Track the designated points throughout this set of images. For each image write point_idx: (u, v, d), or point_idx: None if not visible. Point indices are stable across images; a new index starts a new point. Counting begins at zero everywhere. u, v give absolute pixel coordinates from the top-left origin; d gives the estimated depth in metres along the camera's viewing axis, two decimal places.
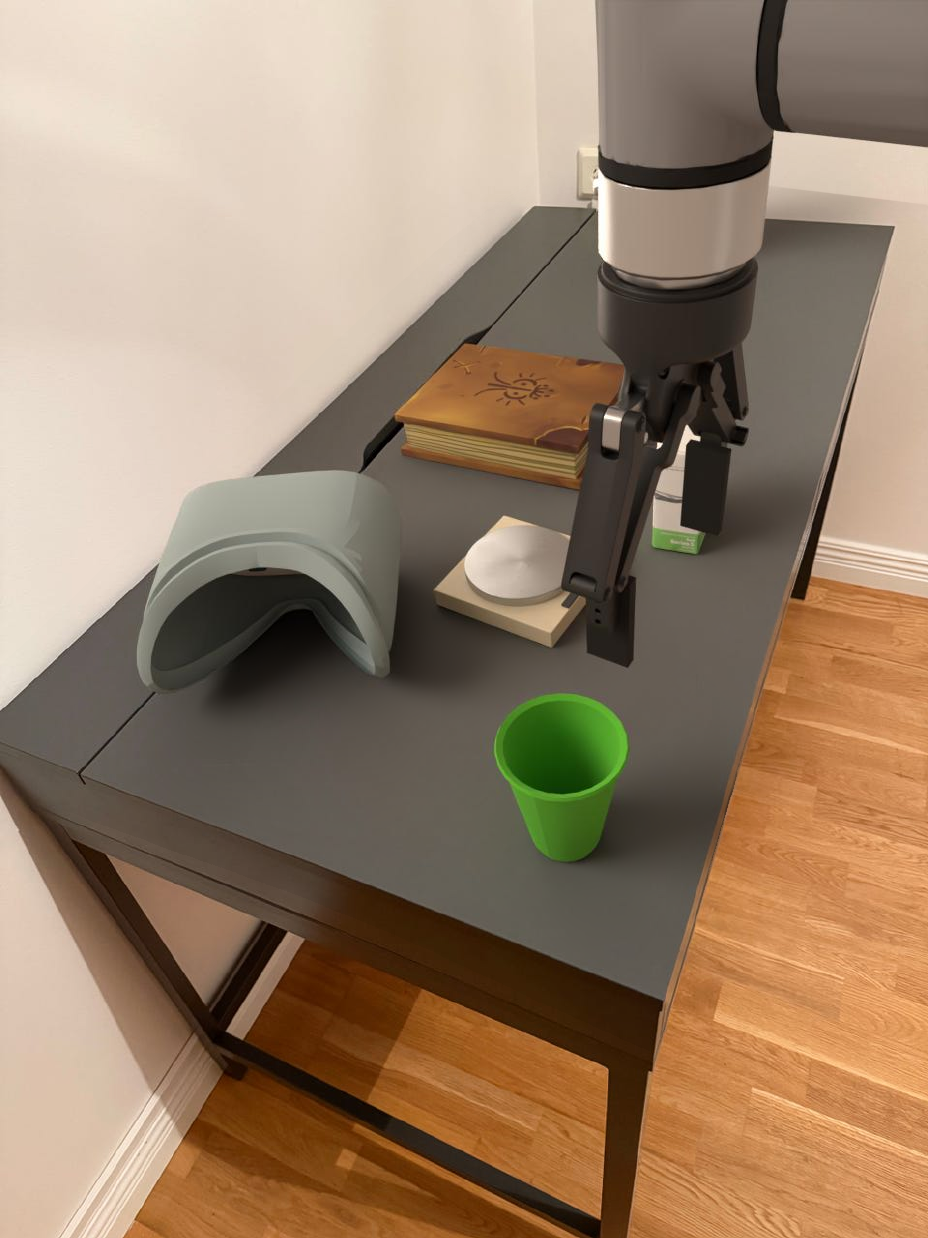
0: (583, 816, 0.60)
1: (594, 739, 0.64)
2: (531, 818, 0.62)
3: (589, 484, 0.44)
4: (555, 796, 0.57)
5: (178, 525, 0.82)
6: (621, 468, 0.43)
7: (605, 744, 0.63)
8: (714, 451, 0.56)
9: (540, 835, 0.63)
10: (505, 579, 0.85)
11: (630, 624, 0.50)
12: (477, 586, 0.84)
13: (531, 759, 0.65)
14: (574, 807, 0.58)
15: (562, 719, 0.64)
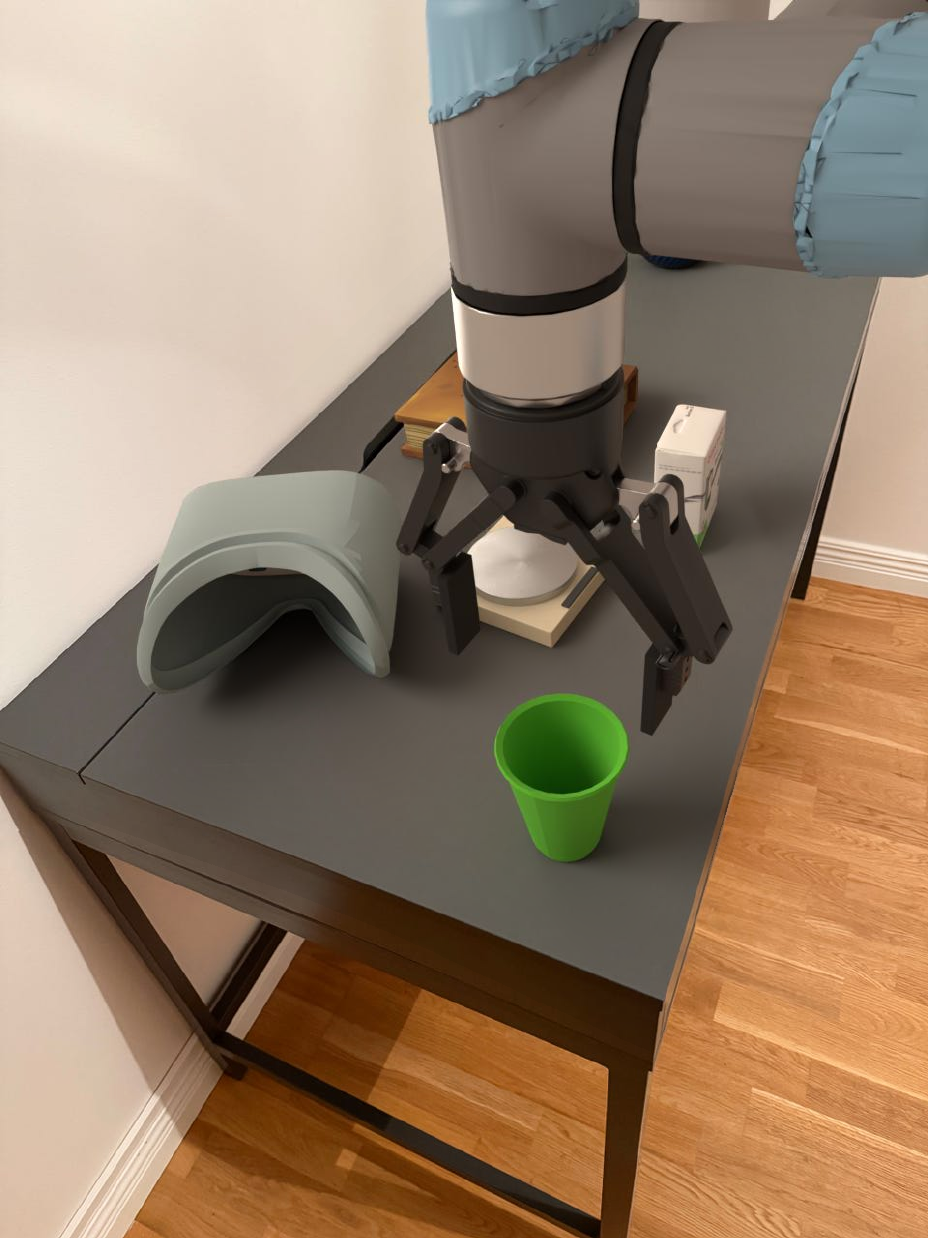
0: (583, 816, 0.60)
1: (594, 739, 0.64)
2: (531, 818, 0.62)
3: None
4: (555, 796, 0.57)
5: (178, 525, 0.82)
6: None
7: (605, 744, 0.63)
8: (652, 645, 0.48)
9: (540, 835, 0.63)
10: (505, 579, 0.85)
11: (445, 615, 0.56)
12: (477, 586, 0.84)
13: (531, 759, 0.65)
14: (574, 807, 0.58)
15: (562, 719, 0.64)
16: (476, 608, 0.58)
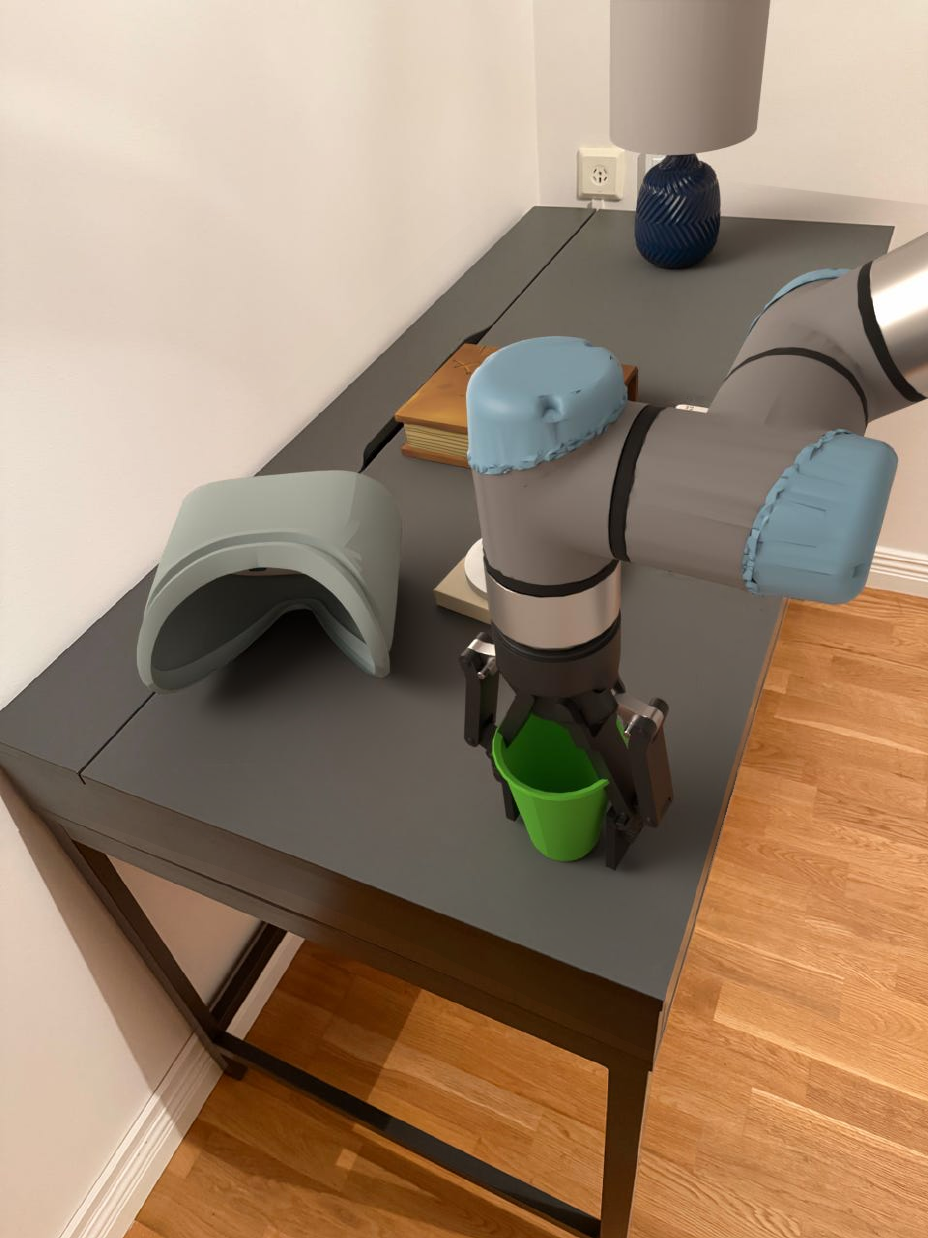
0: (581, 815, 0.60)
1: None
2: (530, 817, 0.62)
3: None
4: (553, 795, 0.57)
5: (178, 525, 0.82)
6: None
7: None
8: (611, 806, 0.60)
9: (539, 834, 0.63)
10: None
11: (505, 792, 0.66)
12: (477, 586, 0.84)
13: (529, 759, 0.65)
14: (572, 806, 0.58)
15: None
16: None
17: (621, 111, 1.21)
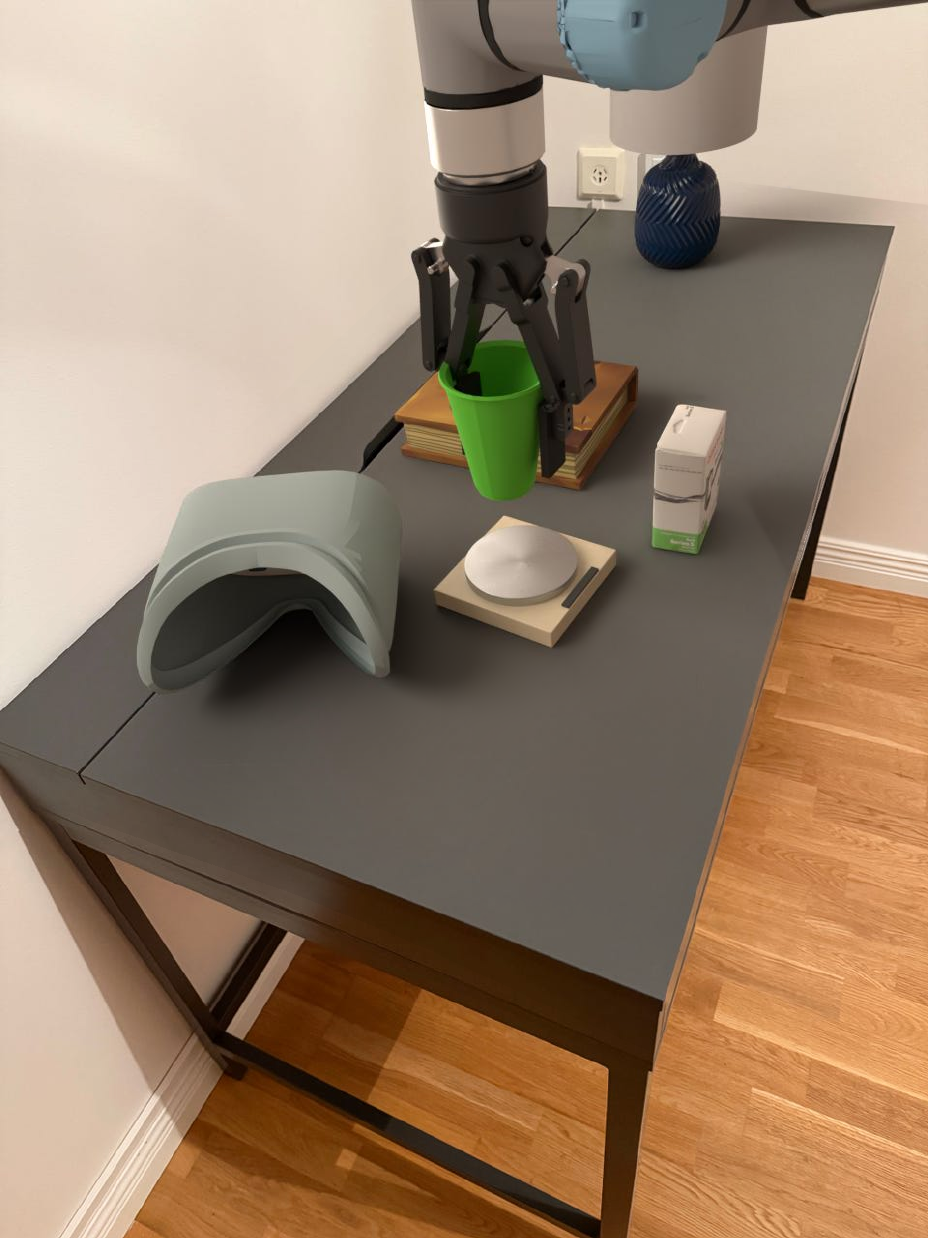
0: (518, 429, 0.69)
1: (524, 382, 0.73)
2: (473, 443, 0.71)
3: None
4: (493, 396, 0.66)
5: (178, 525, 0.82)
6: None
7: (534, 381, 0.72)
8: (543, 400, 0.68)
9: (483, 464, 0.72)
10: (505, 579, 0.85)
11: None
12: (477, 586, 0.84)
13: None
14: (510, 412, 0.67)
15: (496, 367, 0.73)
16: None
17: (621, 111, 1.21)
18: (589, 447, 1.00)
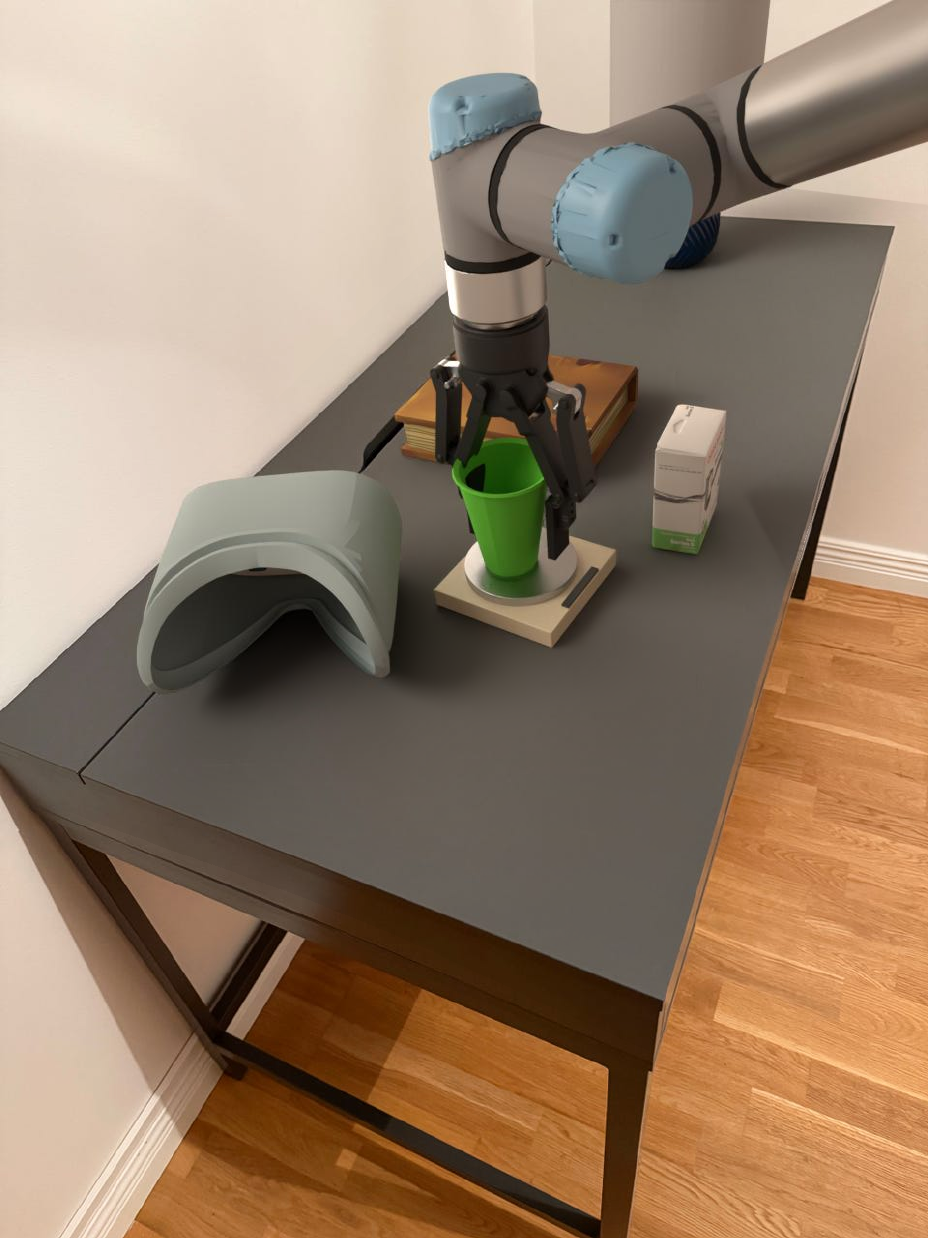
0: (522, 519, 0.79)
1: (528, 473, 0.83)
2: (483, 530, 0.81)
3: None
4: (500, 494, 0.76)
5: (178, 525, 0.82)
6: None
7: (536, 473, 0.82)
8: (550, 496, 0.78)
9: (491, 547, 0.82)
10: (505, 579, 0.85)
11: None
12: (477, 586, 0.84)
13: None
14: (515, 506, 0.77)
15: (503, 460, 0.83)
16: None
17: (621, 111, 1.21)
18: None
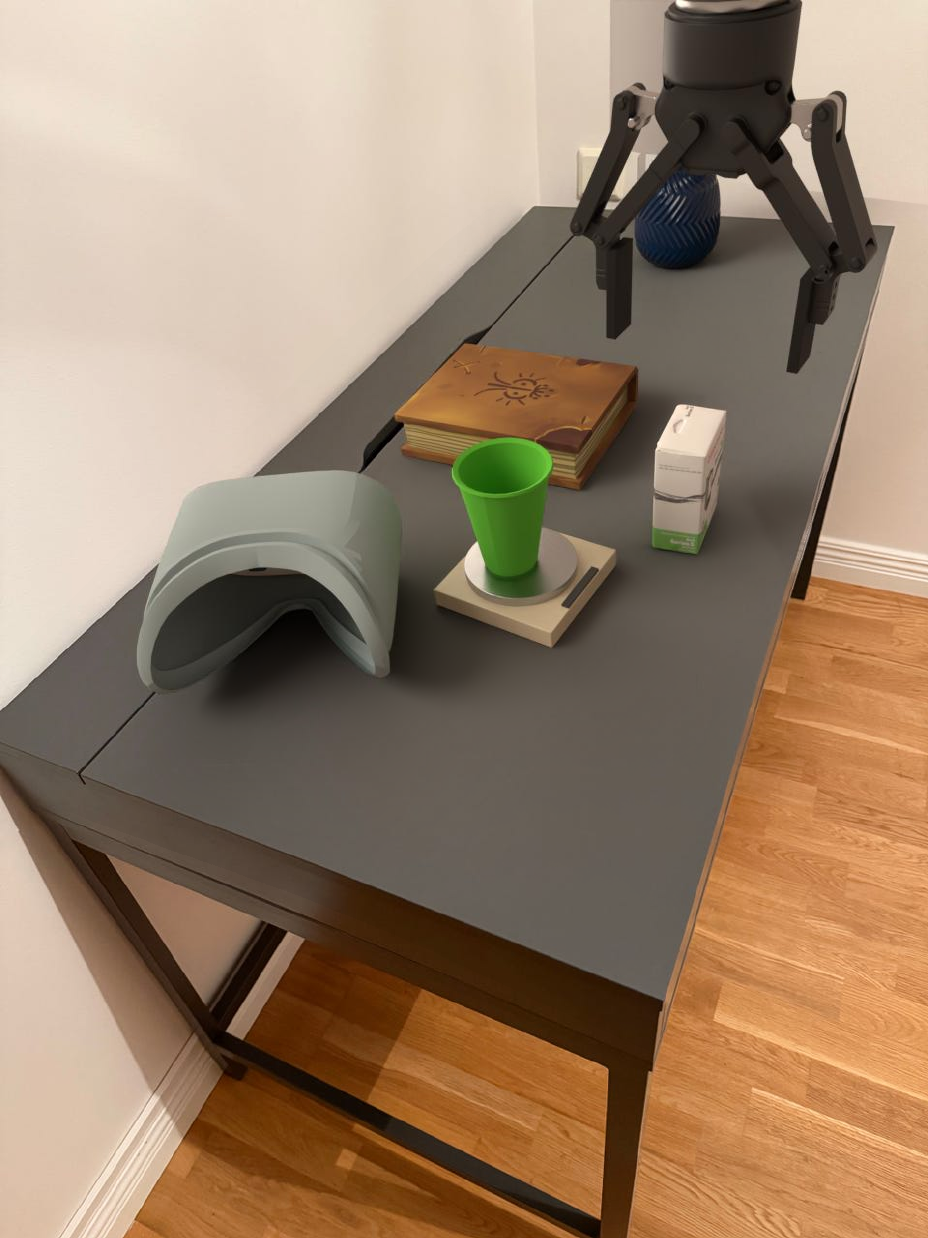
0: (522, 519, 0.79)
1: (527, 473, 0.83)
2: (483, 529, 0.81)
3: None
4: (500, 494, 0.76)
5: (178, 525, 0.82)
6: None
7: (536, 473, 0.82)
8: (805, 273, 0.57)
9: (491, 547, 0.82)
10: (505, 579, 0.85)
11: (609, 294, 0.65)
12: (477, 586, 0.84)
13: None
14: (515, 506, 0.77)
15: (502, 460, 0.83)
16: (630, 298, 0.67)
17: None
18: (589, 447, 1.00)
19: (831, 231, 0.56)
